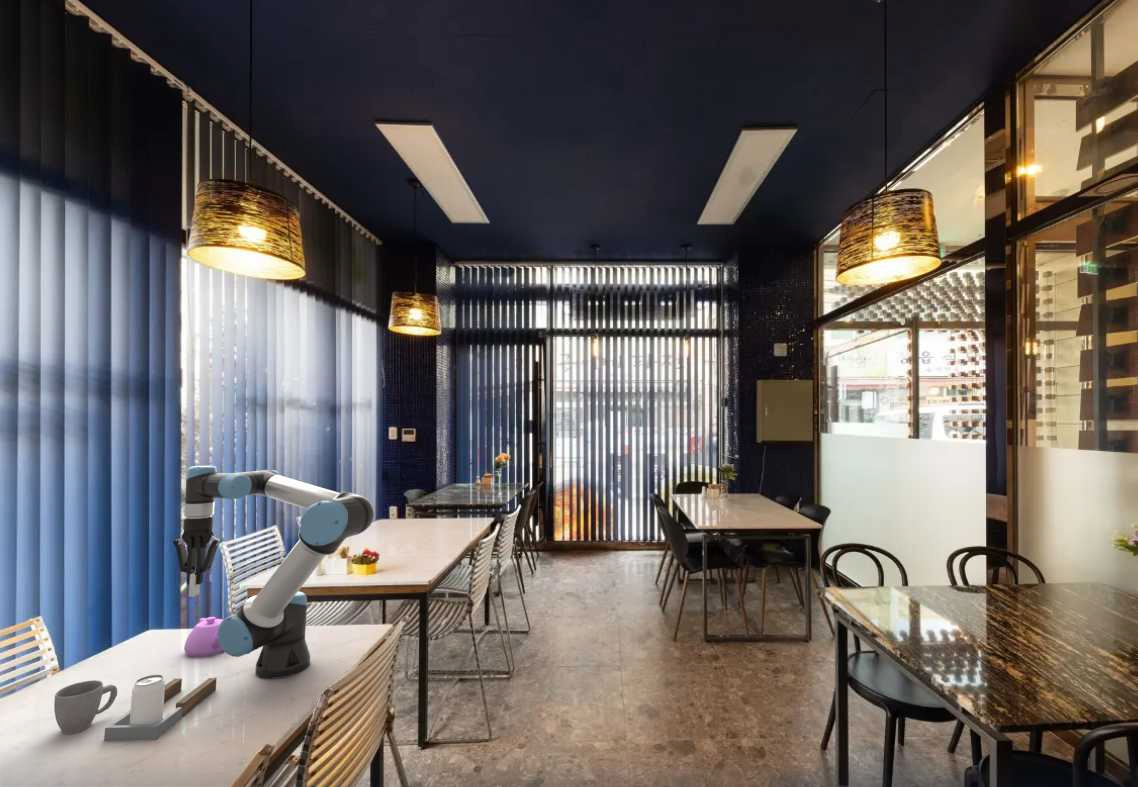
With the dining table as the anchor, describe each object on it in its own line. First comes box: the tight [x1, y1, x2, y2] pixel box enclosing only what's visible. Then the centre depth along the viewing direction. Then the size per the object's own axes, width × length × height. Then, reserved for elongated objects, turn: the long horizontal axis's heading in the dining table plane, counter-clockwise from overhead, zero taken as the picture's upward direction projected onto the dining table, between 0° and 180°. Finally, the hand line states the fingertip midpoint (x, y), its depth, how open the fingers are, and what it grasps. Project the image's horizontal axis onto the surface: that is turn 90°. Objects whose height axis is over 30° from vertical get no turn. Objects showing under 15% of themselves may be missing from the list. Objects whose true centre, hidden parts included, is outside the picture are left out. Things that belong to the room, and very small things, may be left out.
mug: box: [53, 680, 118, 736], centre depth 132 cm, size 12×9×10 cm
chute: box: [164, 677, 217, 718], centre depth 142 cm, size 12×14×4 cm
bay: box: [103, 707, 183, 742], centre depth 130 cm, size 12×9×3 cm
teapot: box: [183, 616, 225, 658], centre depth 177 cm, size 14×20×11 cm
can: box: [129, 674, 166, 725], centre depth 130 cm, size 6×6×12 cm
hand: (194, 595), depth 159 cm, fingers closed
